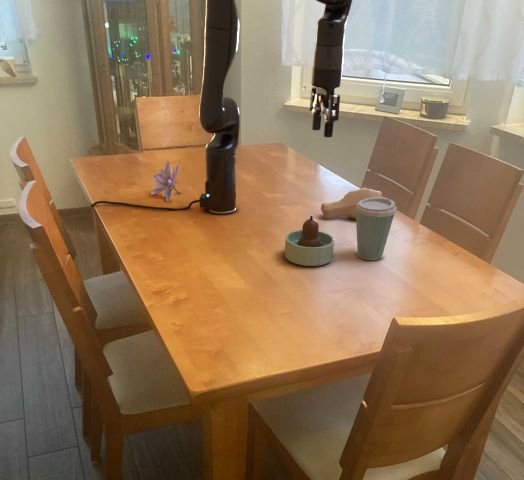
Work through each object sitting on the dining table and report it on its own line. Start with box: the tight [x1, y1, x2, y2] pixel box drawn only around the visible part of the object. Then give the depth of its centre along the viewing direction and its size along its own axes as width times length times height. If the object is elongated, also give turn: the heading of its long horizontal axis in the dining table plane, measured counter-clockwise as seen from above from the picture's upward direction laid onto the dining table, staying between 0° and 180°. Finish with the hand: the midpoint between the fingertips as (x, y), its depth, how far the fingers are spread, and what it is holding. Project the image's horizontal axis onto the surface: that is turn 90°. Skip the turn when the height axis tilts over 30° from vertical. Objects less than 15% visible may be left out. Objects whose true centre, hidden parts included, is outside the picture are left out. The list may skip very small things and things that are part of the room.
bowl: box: [284, 229, 335, 267], centre depth 145 cm, size 13×13×6 cm
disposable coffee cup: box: [355, 196, 397, 261], centre depth 144 cm, size 11×11×15 cm
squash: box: [320, 186, 383, 220], centre depth 172 cm, size 11×20×9 cm, turn 100°
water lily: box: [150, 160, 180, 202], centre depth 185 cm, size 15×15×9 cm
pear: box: [298, 215, 321, 247], centre depth 143 cm, size 6×6×11 cm
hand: (321, 133), depth 146 cm, fingers open, 8 cm apart
